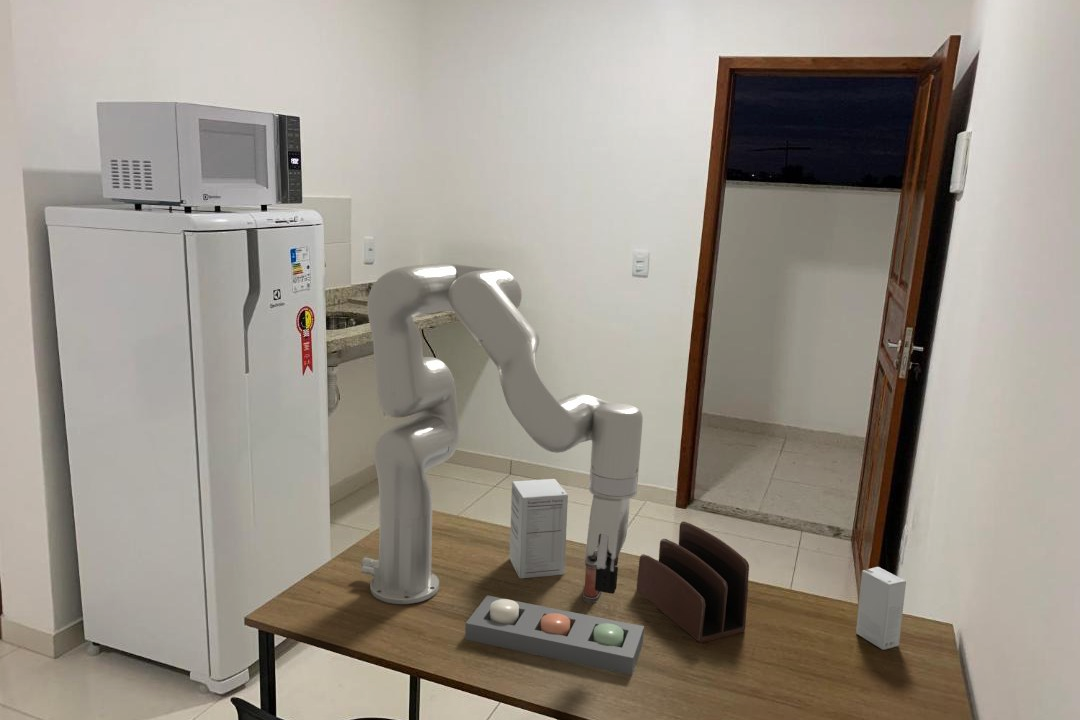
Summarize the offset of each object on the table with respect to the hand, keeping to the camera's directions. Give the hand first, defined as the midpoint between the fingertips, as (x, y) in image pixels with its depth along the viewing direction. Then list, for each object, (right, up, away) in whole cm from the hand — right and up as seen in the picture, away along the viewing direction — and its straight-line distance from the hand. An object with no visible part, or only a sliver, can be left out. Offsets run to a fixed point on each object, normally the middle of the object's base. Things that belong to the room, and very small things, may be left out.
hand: (605, 589), depth 128 cm
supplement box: (-11, -5, +31) cm, 33 cm away
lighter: (-1, -7, +22) cm, 23 cm away
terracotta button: (-8, -9, +4) cm, 13 cm away
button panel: (-8, -10, +4) cm, 13 cm away
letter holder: (+16, -9, +17) cm, 25 cm away
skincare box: (+48, -12, +10) cm, 50 cm away
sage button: (+1, -10, +2) cm, 10 cm away
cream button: (-17, -7, +7) cm, 19 cm away
